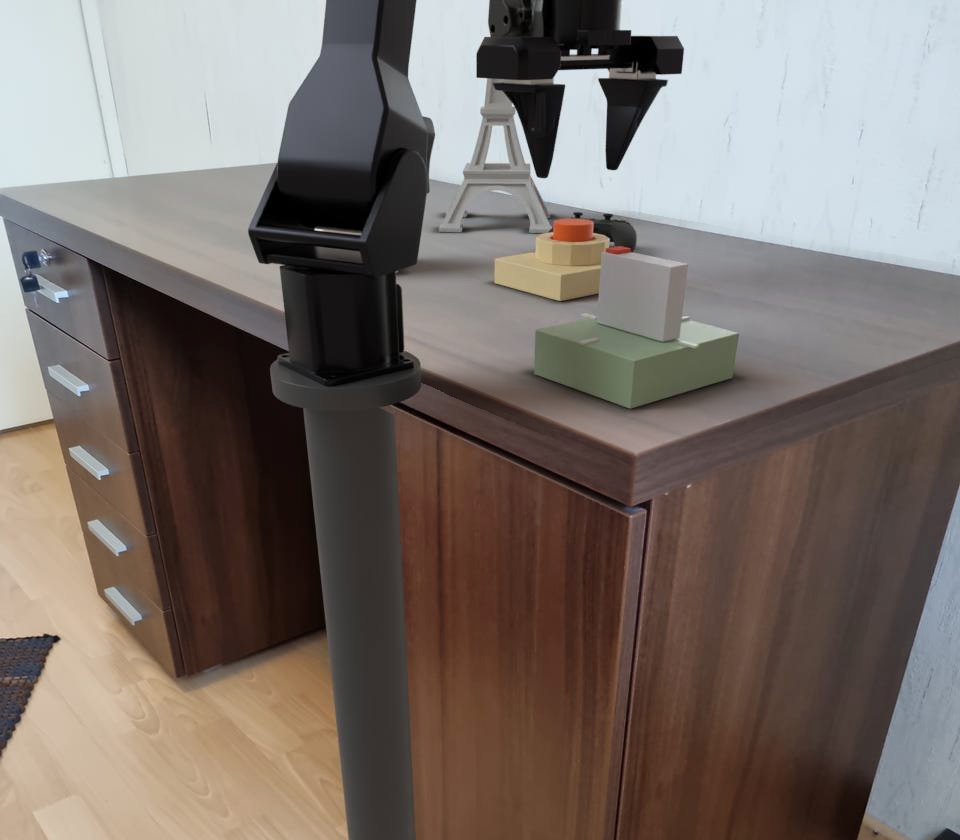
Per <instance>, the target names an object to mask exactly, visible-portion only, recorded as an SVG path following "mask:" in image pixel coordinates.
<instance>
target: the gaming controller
mask: <svg viewBox="0 0 960 840" xmlns="http://www.w3.org/2000/svg"><path fill="white" fill-rule="evenodd" d="M572 215H573V216H574V217H569V219H586V220H590V221H593V223H594V225H593V233H596V234H601V235H605V236H606V237H608V238H609V239H610V243H613V244H614V247H617V246H622V247H627V248H631V250H630V252H634V251H635V249H636V247H637V240H638V236H637V230H636V229H635V228H634V226H633V224H631V223H630V222H629V221H626V220H625V219H620V220H619V219H615V218H614V219H611V218H613V217H614V215H613V213H603V214H602V217H604V219H603V218H601V219H596V218H583V217H581V216H584V213H583V212H581V211H574V212H573V213H572ZM551 232H553V227H552V228H551V229H550V230H549V232H548V233H551Z"/></svg>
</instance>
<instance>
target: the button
mask: <svg viewBox="0 0 960 840" xmlns="http://www.w3.org/2000/svg"><path fill="white" fill-rule="evenodd" d="M586 219H587V218H585V219H570V218H560V219H555V220H553V225H552V228H553V240H557V241H564V242H586V241H592V240H593V225H594V223H593V221H590V220H586Z"/></svg>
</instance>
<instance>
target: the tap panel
mask: <svg viewBox="0 0 960 840" xmlns="http://www.w3.org/2000/svg"><path fill="white" fill-rule="evenodd" d="M580 316H581V317H583V318H582V319H578V320H573V321H568V322H563V323H559V324H554V325H550V326H546V327H545V326H544V327H541V328H537V329H535V330H534V331H535V335H534V358H533V359H534V360H533V374H534V375H536V376H539V377H542V378H544V379H547V380H548V381H549V380H550V381H552V382H555V383H558V384H561V385H563V386H566V387H568V388H572V389H575V390H577V391H579V392H583V393H584V394H585V393H586V394H588V395H590V396H594V397H597V398H599V399H602V400H605V401H608V402H610V403H613V404H616V405H619V406H622V407H624V408H627V409H629V410H630V409H635V408H638V407H640V406H644V405H647V404H648V405H649V404H651V403H655V402H657V401H661V400H665V399H667V398H671V397H674V396H677V395H681V394H684V393H688V392H690V391H694V390H697V389H700V388H704V387H707V386H710V385H713V384H717V383H721V382H724V381H727V380H730V379H733V377H734V370H735V364H736V358H737V351H738V345H739V338H740V333H739V332H736V331H732V330H729V329H725V328H721V327H718V326H714V325H709V324H706V323H702V322H699V321H694V320H692V319H691V317H690V316H687V315H684V316H682V320H681V329H680V337H679V338H677V339H673V340H669V341H665V342H661V341H658V340H654V339H651V338H647V337H644V336H641V335H637V334H634V333H630V332H627V331H623V330H620V329H617V328H613V327H610V326H606V325H603V324H600V323H597V315H595V314H590V313H586V312H584V313H581V314H580Z"/></svg>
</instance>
